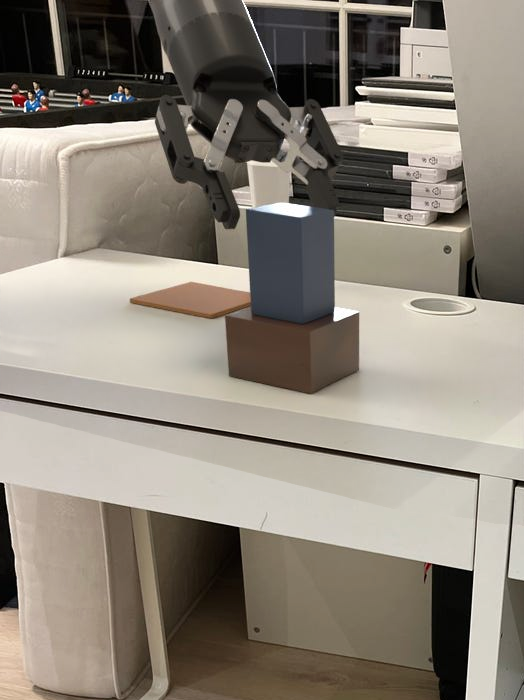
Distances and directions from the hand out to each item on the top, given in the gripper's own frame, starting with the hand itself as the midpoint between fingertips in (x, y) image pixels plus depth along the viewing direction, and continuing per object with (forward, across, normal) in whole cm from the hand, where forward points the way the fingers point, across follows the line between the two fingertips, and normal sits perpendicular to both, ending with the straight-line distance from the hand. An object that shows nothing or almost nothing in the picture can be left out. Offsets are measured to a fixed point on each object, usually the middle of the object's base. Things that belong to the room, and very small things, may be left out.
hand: (283, 220), depth 78 cm
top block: (+6, 0, +4) cm, 7 cm away
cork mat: (-9, +2, +26) cm, 27 cm away
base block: (+10, 0, +7) cm, 12 cm away
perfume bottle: (-12, +13, +29) cm, 34 cm away
